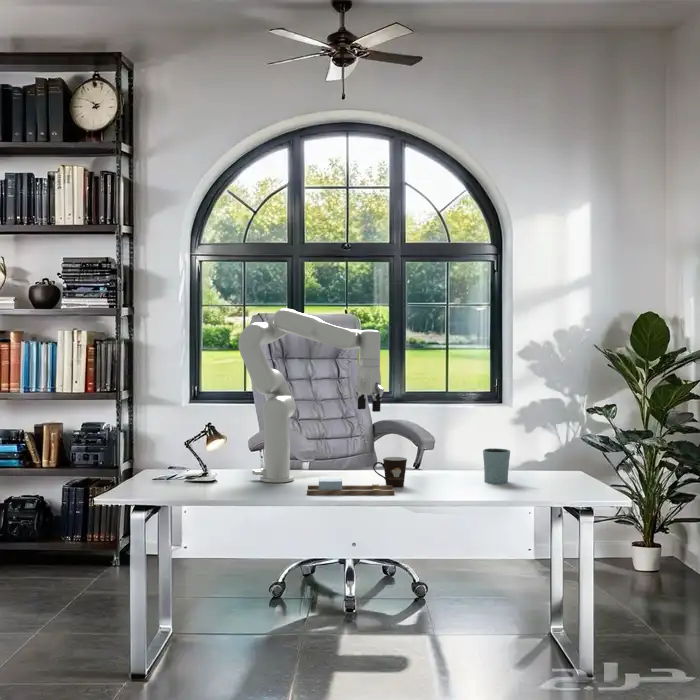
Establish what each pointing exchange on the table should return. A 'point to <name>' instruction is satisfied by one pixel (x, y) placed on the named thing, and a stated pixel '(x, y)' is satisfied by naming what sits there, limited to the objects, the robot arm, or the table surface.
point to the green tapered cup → (496, 465)
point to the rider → (330, 484)
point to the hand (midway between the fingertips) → (368, 410)
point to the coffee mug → (393, 470)
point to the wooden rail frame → (353, 490)
